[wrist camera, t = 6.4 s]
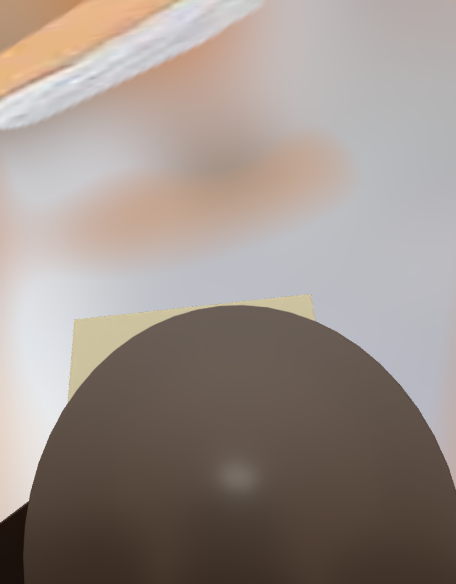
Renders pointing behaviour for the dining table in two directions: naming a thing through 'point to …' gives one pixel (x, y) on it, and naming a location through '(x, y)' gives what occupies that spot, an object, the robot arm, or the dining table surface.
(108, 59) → the dining table surface
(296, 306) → the mat
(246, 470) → the grey rounded peg
